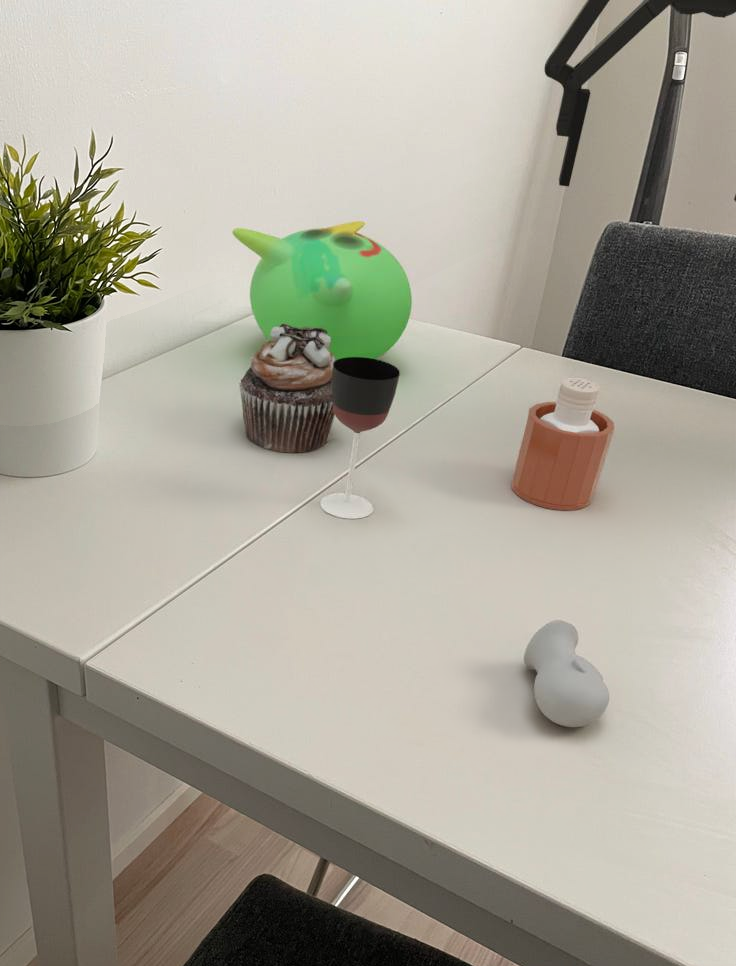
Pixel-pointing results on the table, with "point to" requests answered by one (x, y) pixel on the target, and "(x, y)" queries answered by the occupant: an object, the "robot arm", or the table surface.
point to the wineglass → (359, 417)
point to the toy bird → (330, 287)
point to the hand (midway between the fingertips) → (651, 193)
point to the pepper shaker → (574, 406)
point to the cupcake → (290, 391)
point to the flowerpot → (560, 461)
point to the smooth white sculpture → (565, 677)
